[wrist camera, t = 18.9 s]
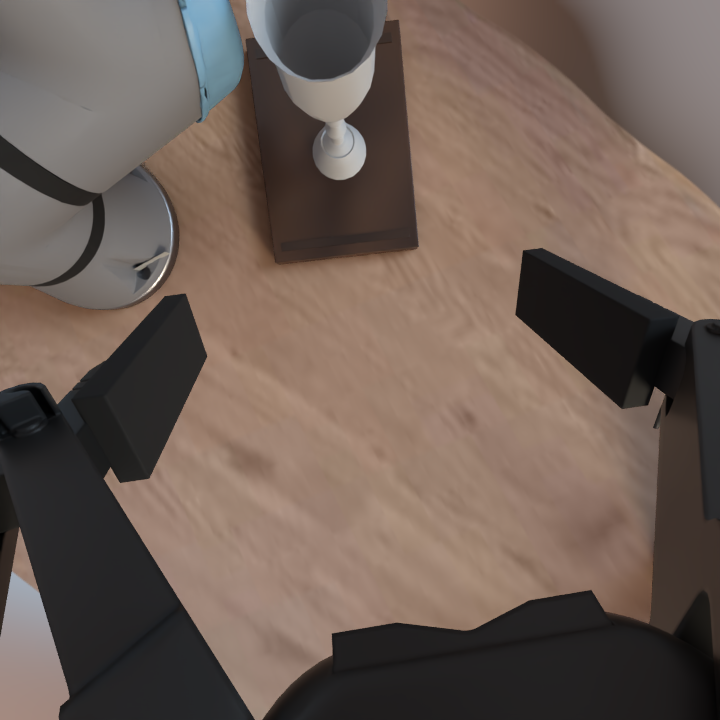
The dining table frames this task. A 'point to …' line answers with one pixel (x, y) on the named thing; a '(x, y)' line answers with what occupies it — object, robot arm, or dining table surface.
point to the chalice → (324, 66)
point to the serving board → (329, 196)
